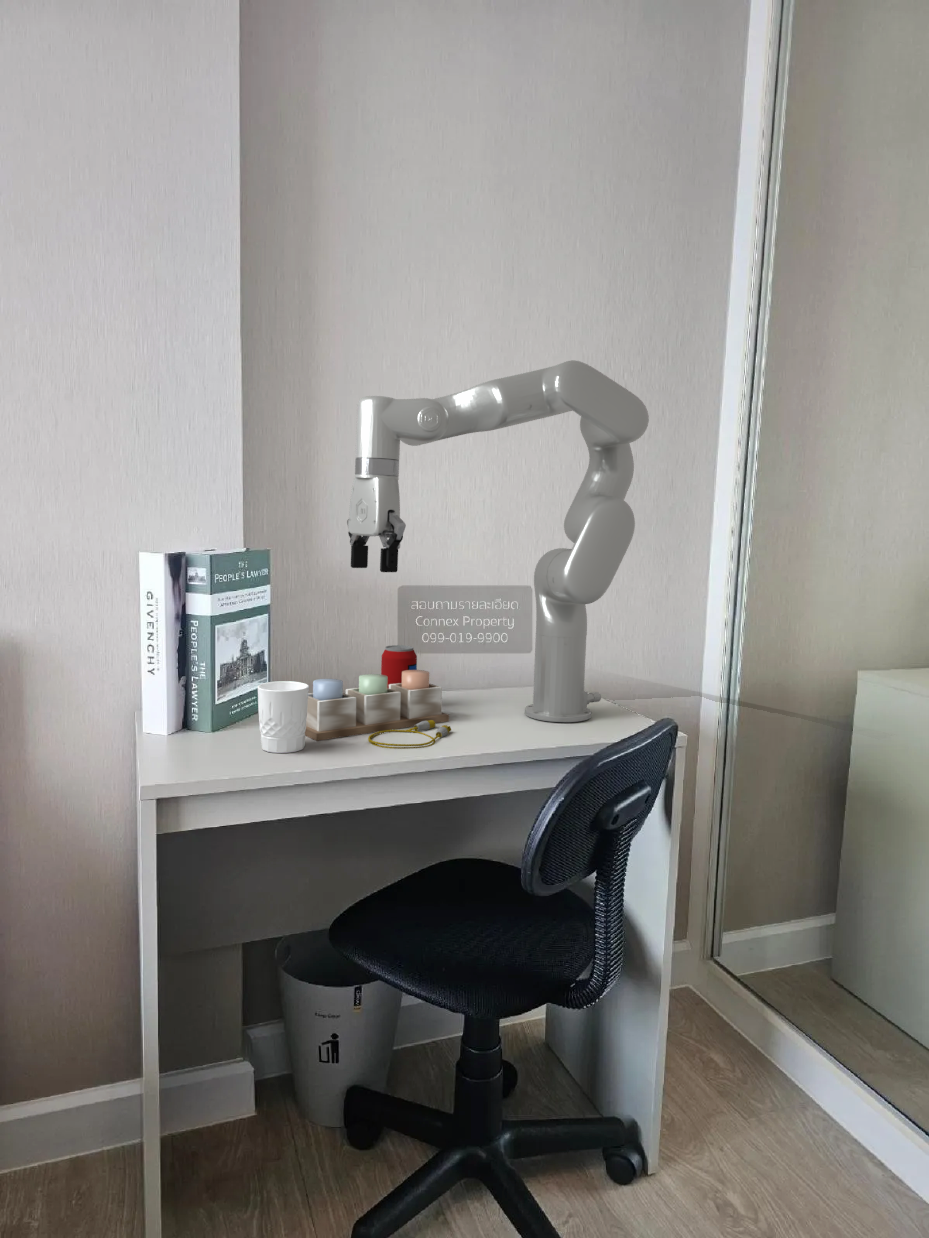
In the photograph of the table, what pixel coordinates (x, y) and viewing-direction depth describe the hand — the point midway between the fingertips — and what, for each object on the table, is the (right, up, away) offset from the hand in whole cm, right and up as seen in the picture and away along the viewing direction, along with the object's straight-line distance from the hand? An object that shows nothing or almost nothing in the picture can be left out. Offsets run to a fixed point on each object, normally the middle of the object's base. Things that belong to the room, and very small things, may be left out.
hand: (373, 569), depth 156 cm
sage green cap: (0, -24, +2) cm, 24 cm away
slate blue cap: (-7, -24, -3) cm, 25 cm away
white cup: (-13, -29, -14) cm, 35 cm away
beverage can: (+3, -26, +16) cm, 31 cm away
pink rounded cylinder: (+7, -23, +7) cm, 25 cm away
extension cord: (+7, -29, -6) cm, 31 cm away
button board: (0, -27, +2) cm, 27 cm away
